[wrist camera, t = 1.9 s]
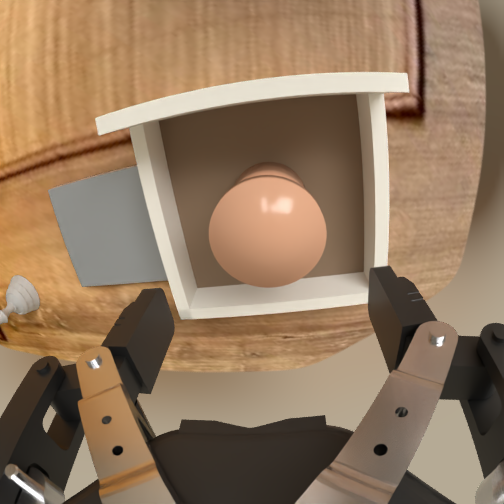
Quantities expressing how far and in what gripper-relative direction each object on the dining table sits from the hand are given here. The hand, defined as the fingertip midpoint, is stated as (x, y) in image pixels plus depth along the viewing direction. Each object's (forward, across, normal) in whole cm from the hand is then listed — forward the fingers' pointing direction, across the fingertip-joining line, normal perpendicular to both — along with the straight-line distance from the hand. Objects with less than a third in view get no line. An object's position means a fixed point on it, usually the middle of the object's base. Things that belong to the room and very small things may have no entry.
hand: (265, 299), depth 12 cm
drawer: (+13, 0, 0) cm, 13 cm away
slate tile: (+13, +14, +1) cm, 19 cm away
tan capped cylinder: (+12, 0, 0) cm, 12 cm away
